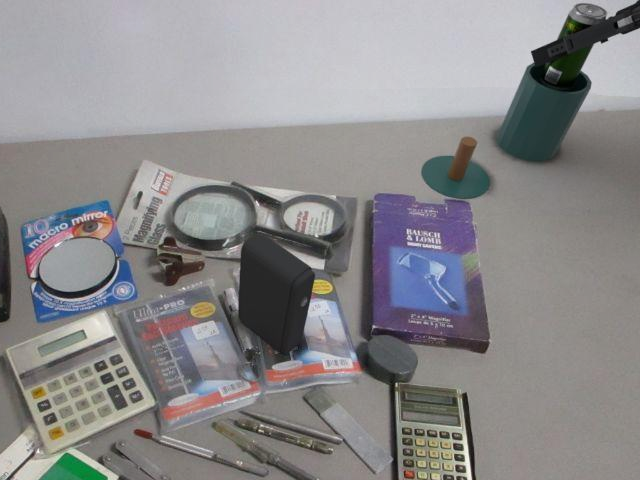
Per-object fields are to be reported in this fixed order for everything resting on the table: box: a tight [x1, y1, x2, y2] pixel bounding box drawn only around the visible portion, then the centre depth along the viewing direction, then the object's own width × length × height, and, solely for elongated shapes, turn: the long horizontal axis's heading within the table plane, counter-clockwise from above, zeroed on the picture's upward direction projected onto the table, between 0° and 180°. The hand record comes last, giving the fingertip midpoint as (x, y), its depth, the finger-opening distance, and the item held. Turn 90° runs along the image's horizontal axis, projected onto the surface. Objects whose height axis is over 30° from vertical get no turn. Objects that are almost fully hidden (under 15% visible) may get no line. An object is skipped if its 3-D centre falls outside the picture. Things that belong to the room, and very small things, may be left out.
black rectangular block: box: [237, 233, 316, 356], centre depth 74 cm, size 9×4×15 cm, turn 45°
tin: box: [496, 62, 592, 163], centre depth 103 cm, size 10×10×14 cm
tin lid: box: [421, 136, 490, 200], centre depth 99 cm, size 11×11×8 cm
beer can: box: [541, 2, 609, 91], centre depth 94 cm, size 5×5×12 cm
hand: (545, 53), depth 98 cm, fingers closed on beer can, 5 cm apart
